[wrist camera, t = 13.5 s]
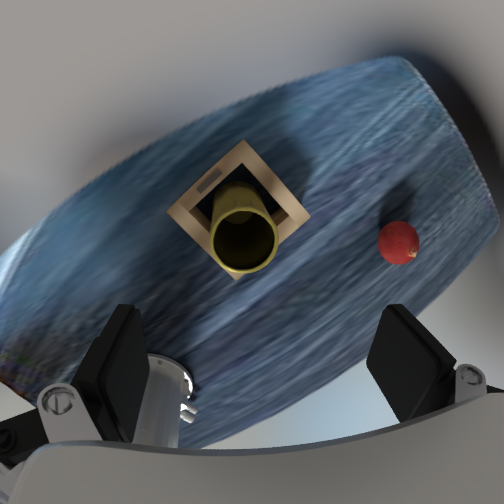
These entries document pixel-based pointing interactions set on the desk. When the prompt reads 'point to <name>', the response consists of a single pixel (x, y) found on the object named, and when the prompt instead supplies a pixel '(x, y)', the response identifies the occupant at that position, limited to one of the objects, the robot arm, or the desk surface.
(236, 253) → the vase
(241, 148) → the wooden box
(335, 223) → the desk surface
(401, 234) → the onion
